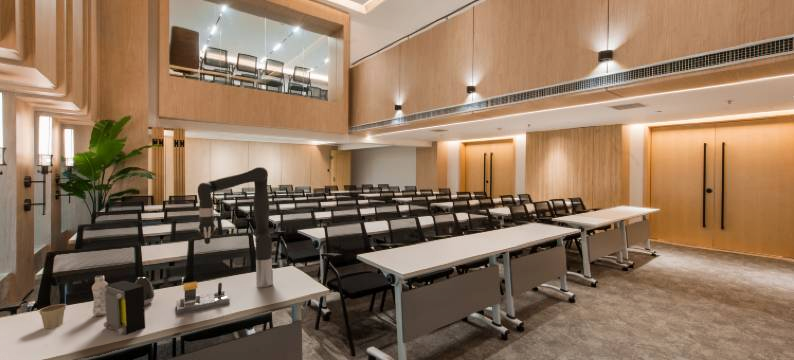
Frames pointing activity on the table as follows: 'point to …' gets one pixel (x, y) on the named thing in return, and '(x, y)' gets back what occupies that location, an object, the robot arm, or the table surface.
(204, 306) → the grey lever switch
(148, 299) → the dark grey ridged ovoid
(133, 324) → the electrical component
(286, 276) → the table surface
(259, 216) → the robot arm
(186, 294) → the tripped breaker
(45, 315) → the flower pot
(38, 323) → the table surface
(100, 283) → the plastic bottle
